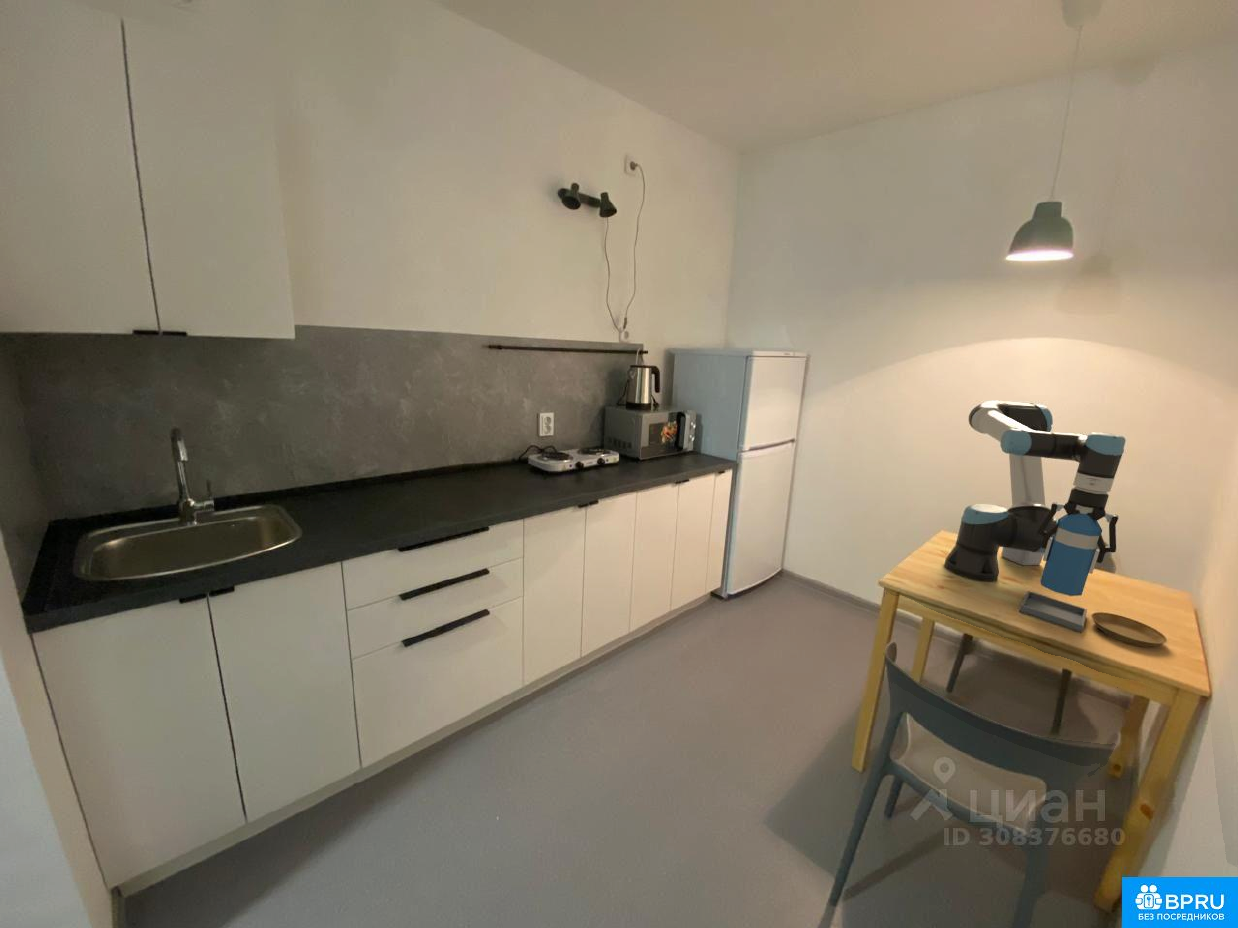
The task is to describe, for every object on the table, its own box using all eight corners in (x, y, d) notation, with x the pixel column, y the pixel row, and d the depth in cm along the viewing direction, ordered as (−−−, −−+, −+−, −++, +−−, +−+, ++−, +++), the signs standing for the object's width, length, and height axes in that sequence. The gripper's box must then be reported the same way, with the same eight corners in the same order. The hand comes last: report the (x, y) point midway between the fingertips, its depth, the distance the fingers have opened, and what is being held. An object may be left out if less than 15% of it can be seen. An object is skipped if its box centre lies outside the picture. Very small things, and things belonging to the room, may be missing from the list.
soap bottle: (998, 555, 184) (1016, 491, 178) (1017, 554, 186) (1035, 491, 180) (1022, 566, 176) (1042, 499, 169) (1042, 565, 178) (1061, 499, 172)
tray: (1018, 611, 144) (1020, 605, 144) (1026, 597, 153) (1028, 590, 153) (1081, 633, 135) (1083, 626, 134) (1085, 616, 144) (1087, 609, 143)
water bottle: (1090, 598, 137) (1118, 513, 130) (1052, 593, 138) (1077, 508, 132) (1068, 582, 145) (1093, 502, 139) (1032, 578, 147) (1055, 498, 141)
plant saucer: (1125, 621, 143) (1128, 613, 142) (1180, 653, 128) (1184, 644, 128) (1074, 618, 143) (1077, 610, 142) (1123, 649, 129) (1127, 641, 128)
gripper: (1037, 482, 140) (1016, 555, 145) (1148, 503, 124) (1120, 584, 130) (1041, 478, 145) (1021, 549, 150) (1147, 498, 130) (1121, 576, 135)
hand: (1067, 565), depth 140 cm, fingers closed on water bottle, 9 cm apart
